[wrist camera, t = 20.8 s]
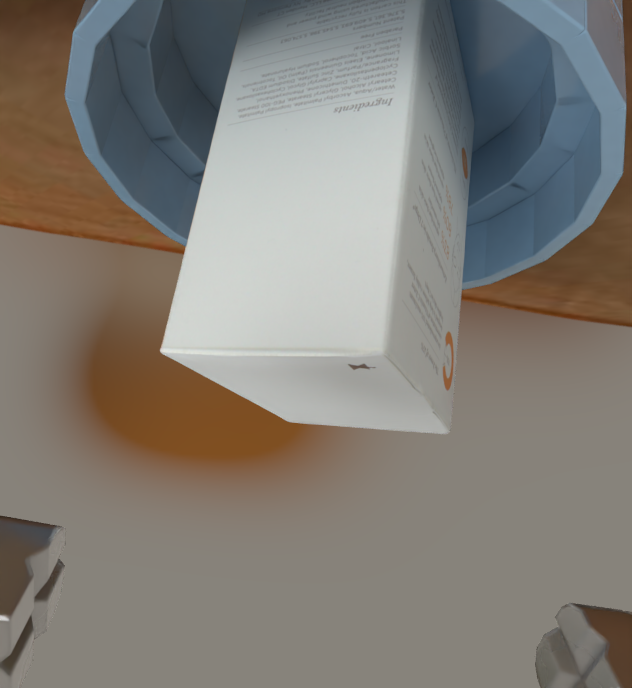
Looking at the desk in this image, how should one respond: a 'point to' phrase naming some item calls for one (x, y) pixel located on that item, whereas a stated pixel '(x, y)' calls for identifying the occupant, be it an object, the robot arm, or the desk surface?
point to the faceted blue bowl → (484, 90)
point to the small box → (333, 217)
